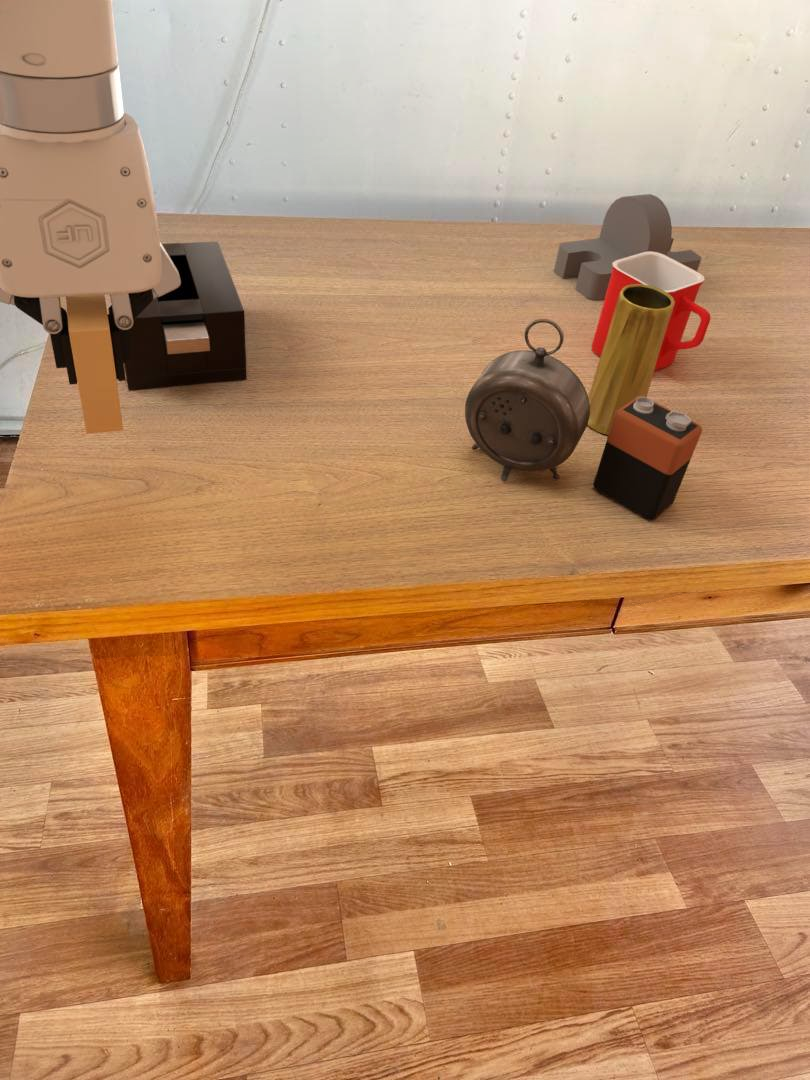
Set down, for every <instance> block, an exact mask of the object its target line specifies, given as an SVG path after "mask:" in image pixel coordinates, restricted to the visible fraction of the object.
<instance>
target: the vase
mask: <svg viewBox="0 0 810 1080" xmlns="http://www.w3.org/2000/svg"><path fill="white" fill-rule="evenodd" d="M674 303H675V302H674V299H673V297H672V296H671V295H670V294H668V293H667V292H665V291H663V290H662V289H659V288H656V287H653V286H650V285H644V284H633V285H628V286H625V287H624V288H623V289H622V290H621V292H620V294H619V297H618V301H617V304H616V307H615V311H614V314H613V317H612V321H611V324H610V327H609V331H608V335H607V339H606V342H605V345H604V348H603V351H602V354H601V357H600V356H599V361H598V363H597V366H596V370H595V373H594V376H593V380H592V384H591V388H590V391H589V393H588V398H589V404H590V416H589V421H588V424H587V426H588V427H589V428H590V429H592V430H593V431H595V432H597V433H599V434H603V435H605V436H608V435H609V432H610V429H611V426H612V422H613V419H614V416H615V413H616V411H617V410H619V409H620V408H621V407H623V406H624V405H626V404H627V403H629V402H630V401H632V400H633V399H635V398H636V397H638V396H643V397H646V398H648V394H649V390H650V386H651V382H652V379H653V376H654V372H655V371H654V369H655V365H656V362H657V358H658V355H659V351H660V348H661V345H662V342H663V338H664V335H665V332H666V329H667V326H668V323H669V320H670V317H671V314H672V310H673V307H674Z"/></svg>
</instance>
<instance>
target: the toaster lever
mask: <svg viewBox="0 0 810 1080" xmlns="http://www.w3.org/2000/svg"><path fill="white" fill-rule="evenodd" d="M163 333H164V340H165V345H166V349H167V353H168V354H176V353H189V352H202V351H210V342H209V335H208V332H207V329H206V326H205V323H204V322H199V323H185V324H170V325H163Z"/></svg>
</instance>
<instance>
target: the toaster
mask: <svg viewBox="0 0 810 1080" xmlns="http://www.w3.org/2000/svg"><path fill="white" fill-rule="evenodd" d="M161 244H162V245H163V247H164V249H165V250H166V252H167V254H168V255H169V257H170V259H171V260H172V262H173V264H174V265H175V267H176V269H177V270H178V272H179V276H180V279H181V285H180V287H178V288H177V289H175V290H173V291H171V292H169V293H167V294H165V295H162V296H160V297H156V298H154V299H153V300H152V302H151V303H150V304H149V305H148V306H147V307H146V308H145V309H144V310H143V311H142V312H141V313H140V314H139V315H138V316H137V317H136V318H135V319H134V320H133V326H132V327H131V328H130V337H131V345H132V353H133V362H134V363H126V364H124V370H125V378H126V385H127V390H128V391H135V390H147V389H157V388H168V387H180V386H189V385H190V386H191V385H201V384H203V385H204V384H214V383H224V382H235V381H247V349H246V348H247V345H246V322H245V321H246V318H245V317H246V315H245V308H244V306H243V304H242V301H241V298H240V295H239V293H238V291H237V287H236V286H235V282H234V280H233V277H232V275H231V272H230V269H229V267H228V264H227V262H226V257H225V256H224V253H223V251H222V247H221V246H220V242H219V241H218V240H217V241H197V242H196V241H195V242H171V243H161ZM199 322H204V323H205V326H206V329H207V332H208V335H209V342H210V351H202V352H189V353H176V354H168V353H167V349H166V345H165V340H164V333H163V325H170V324H185V323H199Z"/></svg>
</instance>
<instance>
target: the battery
mask: <svg viewBox="0 0 810 1080" xmlns="http://www.w3.org/2000/svg"><path fill="white" fill-rule="evenodd" d="M702 432H703V427H702V425H700V424H699V423H696V422H695V421H692V418H690V417H689V416H688V414H687V413H686V412H681V411H677V410H671V409H669V408H667V407H666V406H663V405H662V404H659V403H658V402H655V401H654V400H653V399H651V398H649V397H643V396H638V397H636V398H635V399H633V400H632V401H630V402H629V403H627V404H626V405H624V406H623V407H621V408H620V409H619V410H617V411H616V413H615V416H614V419H613V422H612V426H611V429H610V432H609V435H607V440H606V441H605V445H604V447H603V451H602V453H601V458H600V461H599V464H598V467H597V470H596V473H595V477H594V480H593V484H592V486H593V489H594V490H596V491H597V492H599V493H601V494H602V495H604V496H606V497H607V498H610V499H611V500H613V501H614V502H616V503H617V504H620V505H621V506H623V507H625V508H627V509H628V510H629V511H632V512H634V513H635V514H637V515H639V516H641V517H642V518H644V519H645V520H647V521H654V520H655V519H656V518H658V517H659V516H660V515H661V514H662V513H663V512H664V511H666V510H667V509H668V508H669V507H670V506H671V505H672V504H674V502H675V499H676V498H677V495H678V492H679V490H680V487H681V485H682V482H683V481H684V480H683V479H684V476H685V474H686V472H687V470H688V467H689V464H690V462H691V460H692V457H693V454H694V452H695V449H696V447H697V445H698V443H699V440H700V438H701V435H702Z"/></svg>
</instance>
